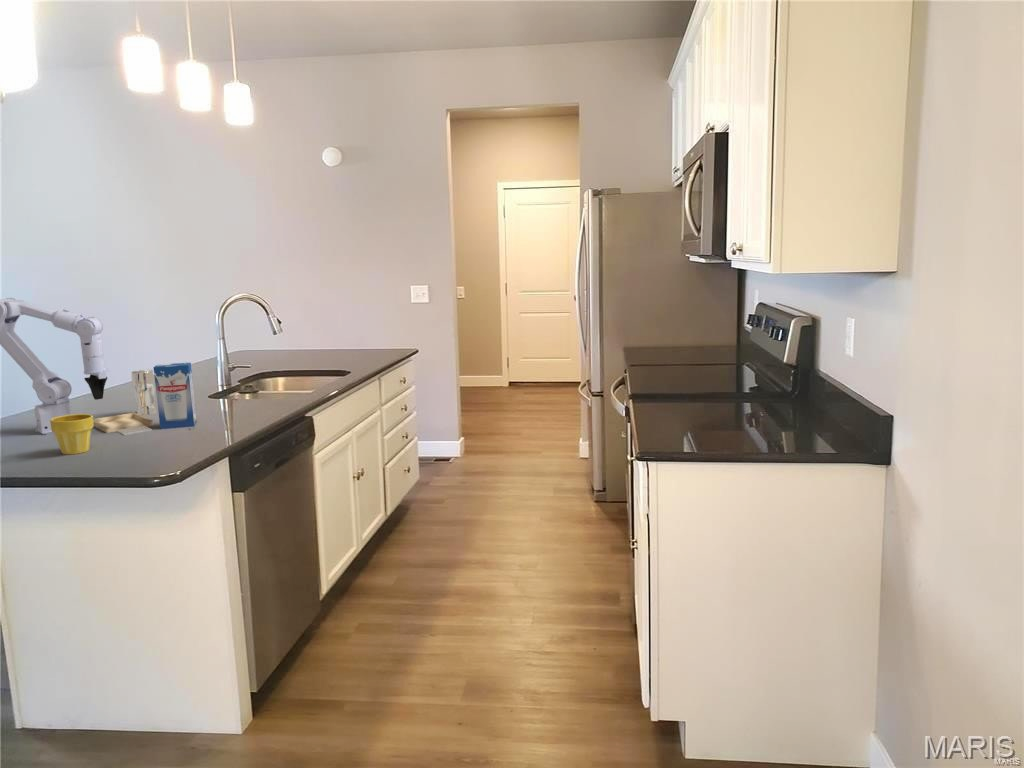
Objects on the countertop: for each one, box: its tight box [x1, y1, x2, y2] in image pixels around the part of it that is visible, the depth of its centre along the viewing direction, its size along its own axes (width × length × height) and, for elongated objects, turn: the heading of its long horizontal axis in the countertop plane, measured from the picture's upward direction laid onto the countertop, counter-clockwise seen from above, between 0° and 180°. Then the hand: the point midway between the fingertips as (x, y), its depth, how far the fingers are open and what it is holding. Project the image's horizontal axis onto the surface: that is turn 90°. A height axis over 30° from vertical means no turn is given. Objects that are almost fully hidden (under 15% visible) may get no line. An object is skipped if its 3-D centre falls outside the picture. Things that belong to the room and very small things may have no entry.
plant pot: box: [50, 413, 95, 455], centre depth 210 cm, size 10×10×10 cm
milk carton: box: [153, 362, 198, 430], centre depth 235 cm, size 10×6×20 cm, turn 105°
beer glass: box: [130, 369, 157, 416], centre depth 257 cm, size 7×7×15 cm
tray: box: [93, 412, 154, 434], centre depth 240 cm, size 14×17×2 cm
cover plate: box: [116, 426, 152, 436], centre depth 232 cm, size 8×7×2 cm
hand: (98, 399), depth 238 cm, fingers closed
